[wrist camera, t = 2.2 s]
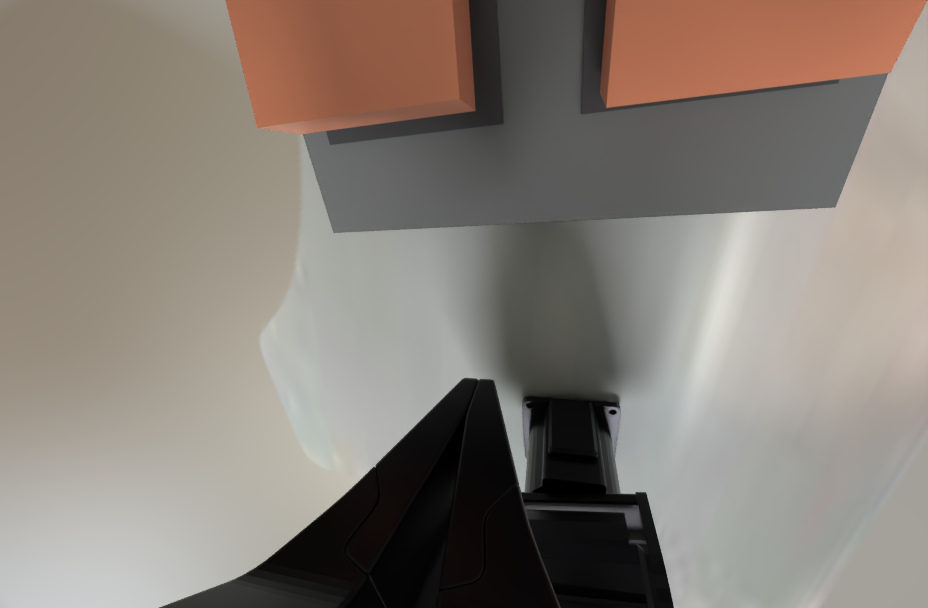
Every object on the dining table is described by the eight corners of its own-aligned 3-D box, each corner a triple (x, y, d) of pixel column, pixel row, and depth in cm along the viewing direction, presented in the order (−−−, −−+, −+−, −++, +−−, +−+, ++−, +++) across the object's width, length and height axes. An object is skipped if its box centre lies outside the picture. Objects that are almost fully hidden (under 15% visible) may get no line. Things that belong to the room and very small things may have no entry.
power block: (729, 168, 16) (840, 215, 10) (400, 193, 20) (330, 239, 14) (838, -290, 10) (1298, -912, 4) (335, -121, 14) (161, -291, 8)
